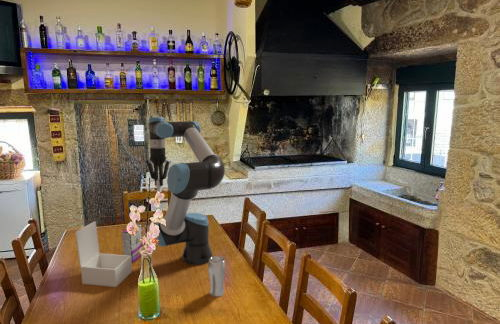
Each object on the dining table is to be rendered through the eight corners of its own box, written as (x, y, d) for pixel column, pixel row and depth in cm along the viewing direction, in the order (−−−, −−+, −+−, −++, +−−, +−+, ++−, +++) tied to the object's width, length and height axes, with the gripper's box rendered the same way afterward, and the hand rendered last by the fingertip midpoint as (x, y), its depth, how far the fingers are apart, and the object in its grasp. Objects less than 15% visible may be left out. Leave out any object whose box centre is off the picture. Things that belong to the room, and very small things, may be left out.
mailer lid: (95, 221, 162) (94, 221, 162) (76, 232, 148) (74, 231, 148) (99, 253, 165) (98, 252, 165) (80, 266, 151) (79, 266, 151)
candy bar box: (134, 253, 183) (132, 223, 180) (143, 254, 182) (141, 224, 179) (123, 263, 172) (121, 231, 169) (132, 264, 171) (130, 232, 168)
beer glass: (206, 291, 147) (205, 257, 145) (221, 287, 151) (220, 254, 148) (212, 299, 141) (212, 264, 139) (228, 294, 145) (228, 261, 142)
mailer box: (131, 271, 163) (131, 255, 162) (116, 287, 150) (115, 269, 148) (100, 268, 166) (99, 253, 165) (82, 283, 152) (80, 266, 151)
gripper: (142, 147, 175) (144, 193, 179) (166, 148, 173) (168, 194, 177) (148, 146, 182) (150, 189, 186) (172, 146, 180) (173, 190, 184)
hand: (159, 192), depth 182 cm, fingers closed
